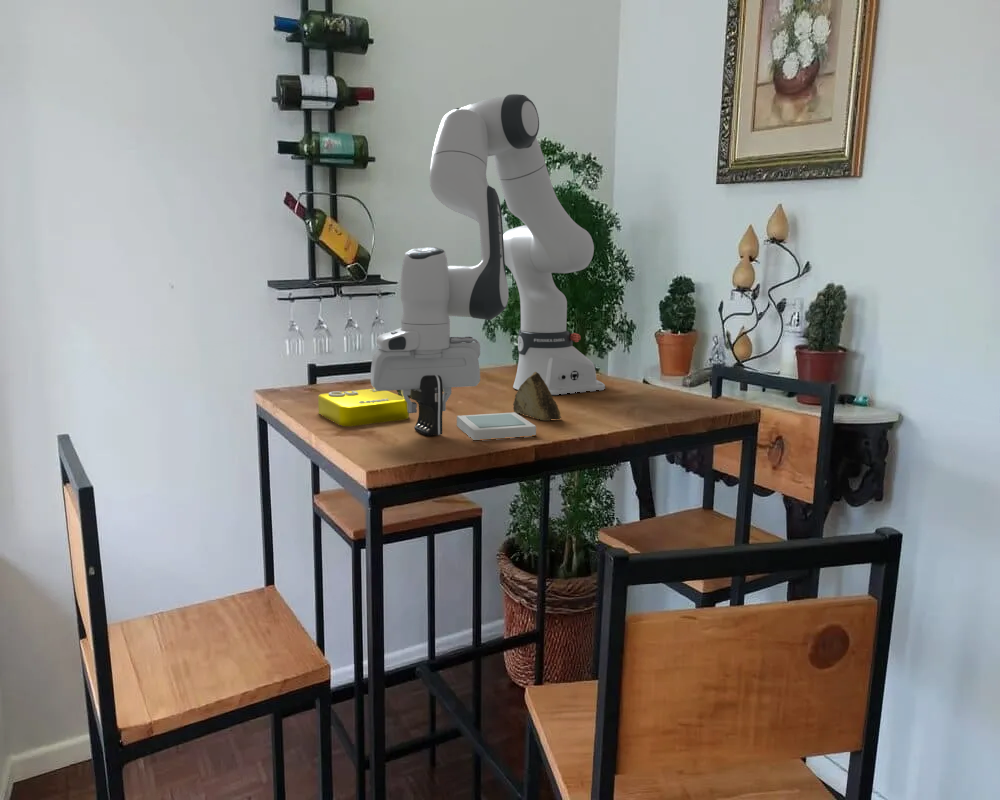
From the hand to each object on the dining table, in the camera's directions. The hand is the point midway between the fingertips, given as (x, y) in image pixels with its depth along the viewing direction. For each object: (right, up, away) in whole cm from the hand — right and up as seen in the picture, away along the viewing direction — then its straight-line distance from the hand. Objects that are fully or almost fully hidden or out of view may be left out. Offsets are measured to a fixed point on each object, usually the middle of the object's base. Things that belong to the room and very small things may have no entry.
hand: (426, 411), depth 146 cm
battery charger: (0, -4, +1) cm, 4 cm away
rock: (+21, -1, +16) cm, 27 cm away
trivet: (+13, -4, +3) cm, 14 cm away
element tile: (-14, -2, +15) cm, 21 cm away
